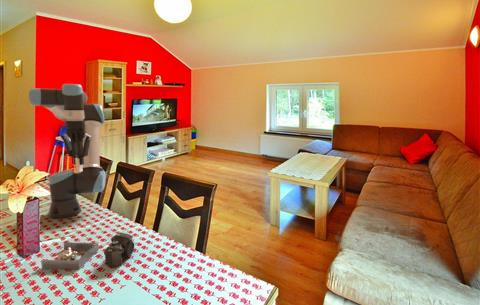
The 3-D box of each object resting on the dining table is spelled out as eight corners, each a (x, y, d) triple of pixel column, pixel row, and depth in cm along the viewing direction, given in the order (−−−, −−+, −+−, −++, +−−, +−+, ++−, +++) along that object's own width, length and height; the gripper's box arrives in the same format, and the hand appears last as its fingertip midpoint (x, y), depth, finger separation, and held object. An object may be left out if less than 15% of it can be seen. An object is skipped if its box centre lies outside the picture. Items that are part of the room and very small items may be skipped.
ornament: (76, 263, 108) (75, 254, 107) (55, 266, 106) (54, 258, 105) (80, 253, 115) (79, 244, 115) (60, 255, 113) (59, 247, 112)
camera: (132, 265, 107) (130, 241, 105) (103, 269, 105) (101, 244, 103) (136, 248, 120) (135, 226, 118) (111, 250, 117) (109, 228, 116)
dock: (41, 268, 104) (41, 261, 103) (65, 248, 118) (64, 242, 117) (79, 269, 104) (78, 262, 103) (98, 249, 118) (98, 243, 117)
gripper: (54, 120, 120) (60, 173, 125) (84, 120, 120) (89, 174, 124) (65, 119, 128) (70, 169, 132) (94, 119, 128) (98, 170, 132)
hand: (79, 171), depth 128 cm, fingers closed
